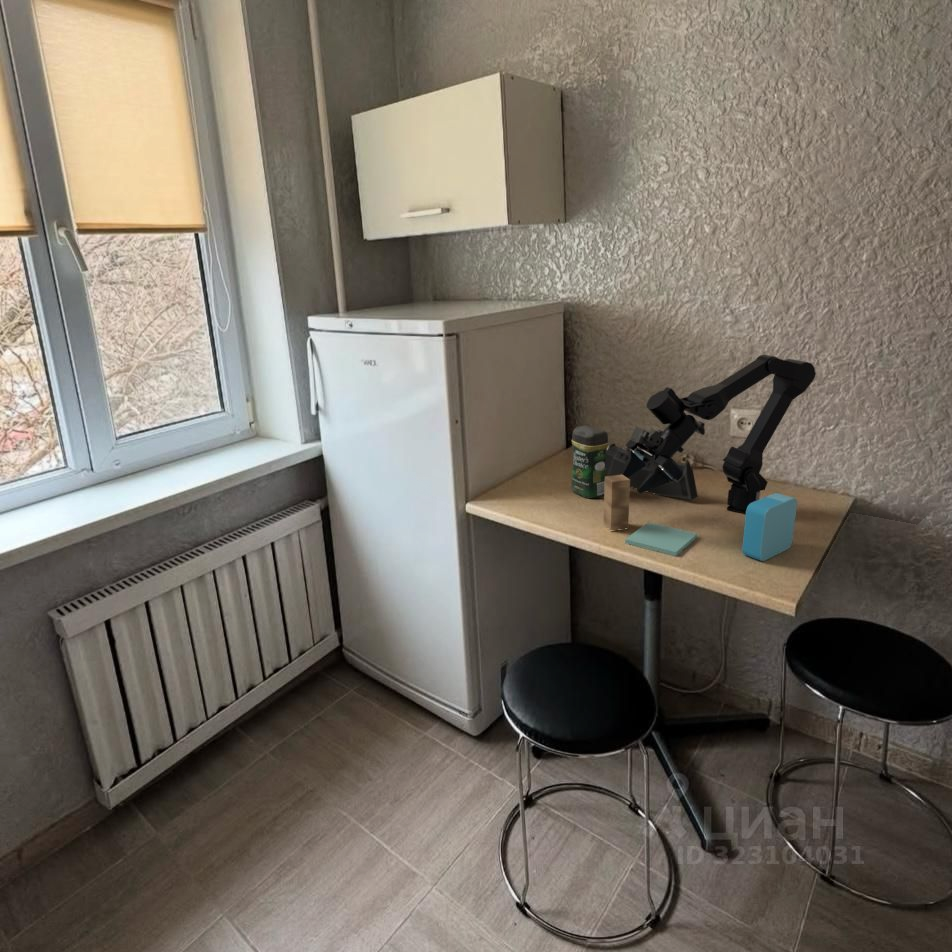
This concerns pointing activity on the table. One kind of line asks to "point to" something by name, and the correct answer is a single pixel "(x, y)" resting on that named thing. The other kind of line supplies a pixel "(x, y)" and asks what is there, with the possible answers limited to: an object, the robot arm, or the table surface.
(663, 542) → the teal board
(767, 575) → the table surface
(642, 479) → the magazine
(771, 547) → the data package
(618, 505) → the walnut block
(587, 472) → the coffee jar
